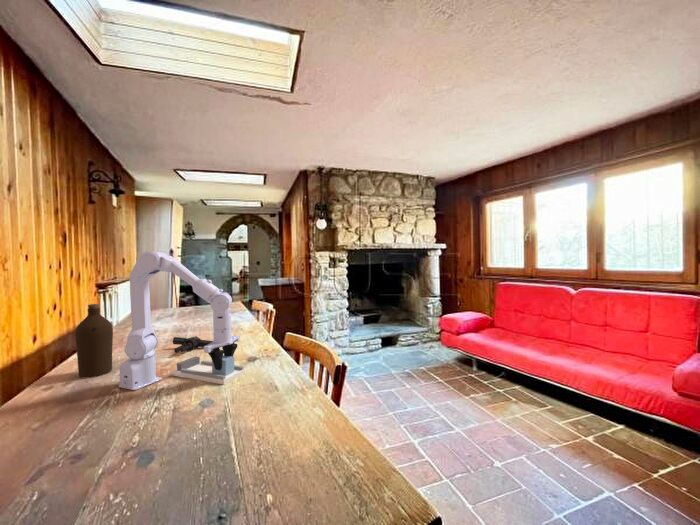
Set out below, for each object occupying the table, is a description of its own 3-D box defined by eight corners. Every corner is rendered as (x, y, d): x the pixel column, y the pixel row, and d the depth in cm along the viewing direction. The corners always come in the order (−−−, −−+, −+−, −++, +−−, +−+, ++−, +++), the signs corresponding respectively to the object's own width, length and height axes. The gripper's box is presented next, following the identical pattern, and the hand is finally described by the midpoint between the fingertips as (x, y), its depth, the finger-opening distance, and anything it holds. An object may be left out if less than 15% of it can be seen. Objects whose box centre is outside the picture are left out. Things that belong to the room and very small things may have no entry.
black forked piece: (203, 346, 130) (219, 337, 145) (157, 342, 130) (178, 332, 145) (202, 359, 130) (218, 348, 145) (156, 354, 130) (177, 344, 145)
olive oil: (120, 369, 116) (118, 302, 115) (88, 380, 106) (85, 307, 105) (102, 366, 120) (100, 301, 119) (69, 376, 110) (67, 305, 109)
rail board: (224, 384, 101) (223, 372, 101) (173, 375, 110) (173, 364, 110) (245, 373, 111) (244, 362, 111) (196, 365, 119) (196, 355, 119)
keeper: (225, 375, 105) (225, 360, 105) (212, 373, 107) (211, 358, 107) (234, 371, 109) (234, 356, 108) (221, 368, 111) (220, 355, 111)
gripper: (215, 334, 99) (216, 376, 100) (245, 324, 113) (246, 361, 113) (198, 332, 102) (199, 373, 102) (230, 323, 115) (231, 359, 116)
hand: (223, 367), depth 108 cm, fingers closed on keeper, 4 cm apart
